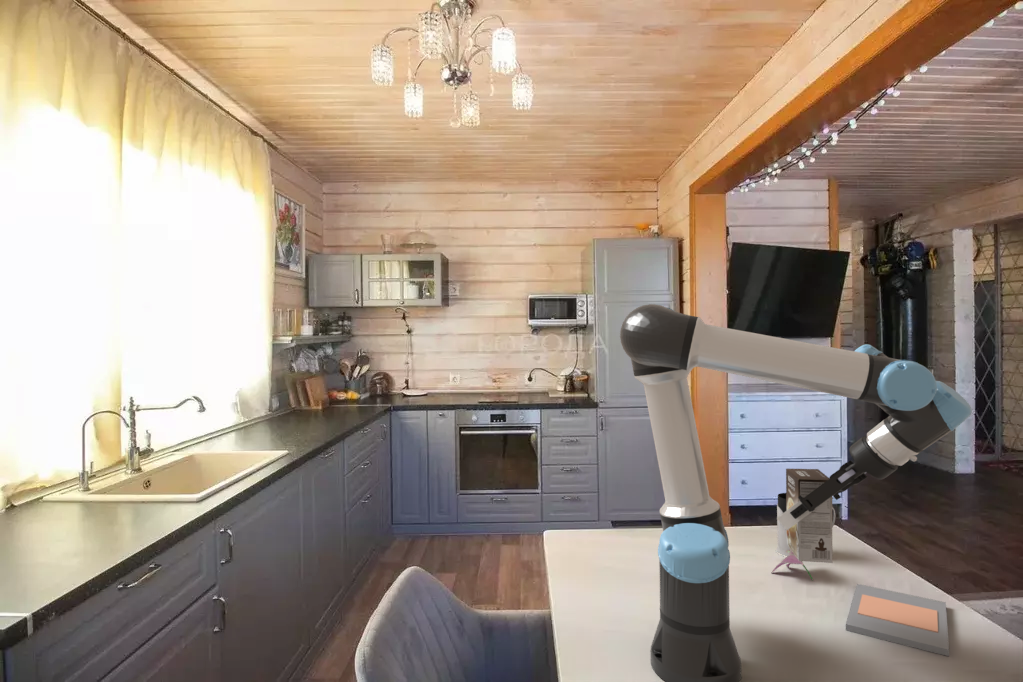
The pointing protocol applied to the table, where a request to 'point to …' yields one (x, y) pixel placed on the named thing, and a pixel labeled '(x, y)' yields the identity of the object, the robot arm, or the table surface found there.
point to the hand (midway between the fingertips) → (793, 517)
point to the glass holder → (781, 531)
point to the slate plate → (899, 618)
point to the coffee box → (809, 518)
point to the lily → (791, 562)
